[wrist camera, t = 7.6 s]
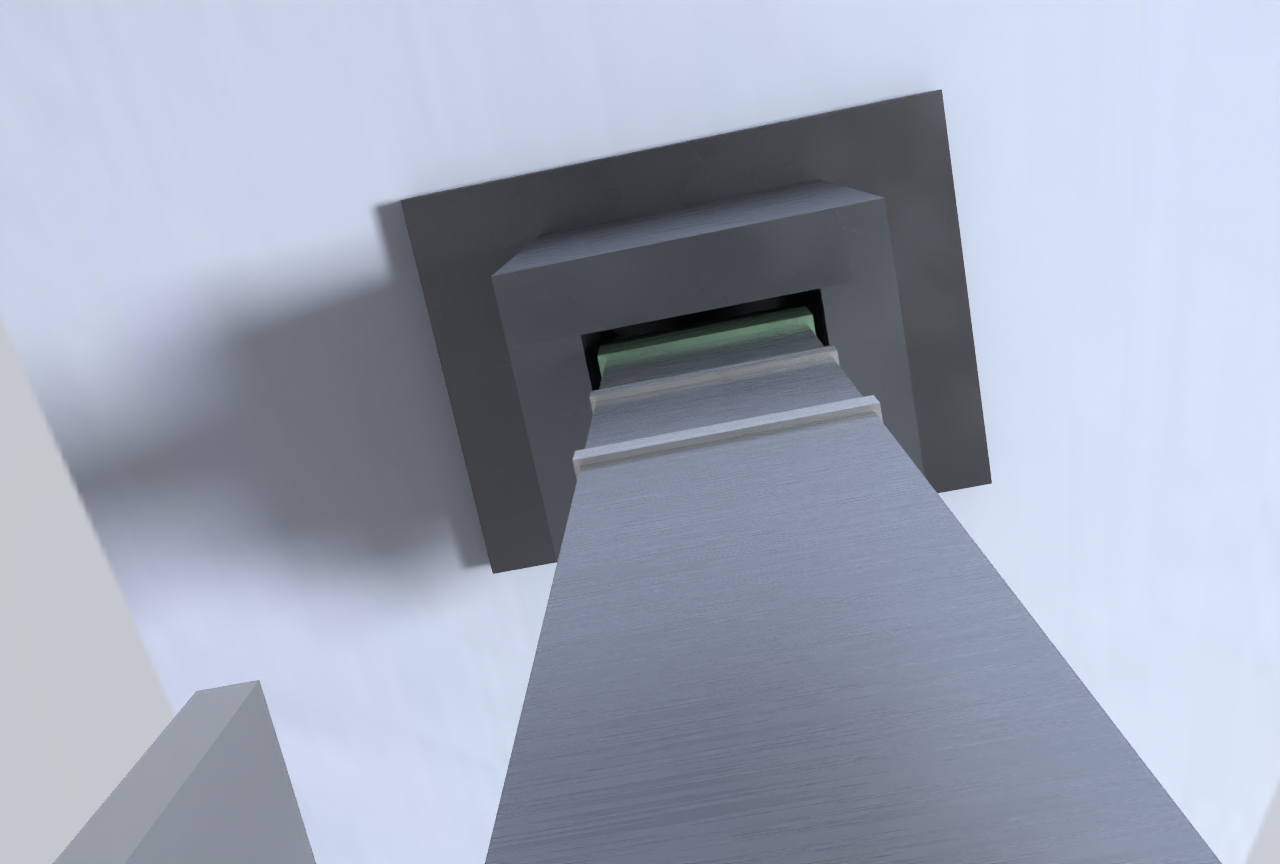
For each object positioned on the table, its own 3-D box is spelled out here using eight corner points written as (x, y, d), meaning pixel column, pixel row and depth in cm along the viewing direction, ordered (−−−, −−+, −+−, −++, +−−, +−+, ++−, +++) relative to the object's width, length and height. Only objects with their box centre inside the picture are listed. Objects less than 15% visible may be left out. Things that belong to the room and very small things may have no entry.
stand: (408, 198, 35) (293, 227, 24) (933, 90, 34) (1063, 70, 23) (497, 562, 38) (431, 735, 27) (983, 473, 37) (1118, 617, 26)
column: (595, 329, 26) (307, 1192, 5) (803, 289, 26) (1477, 1023, 5) (636, 524, 27) (550, 1908, 6) (835, 488, 27) (1491, 1817, 6)
